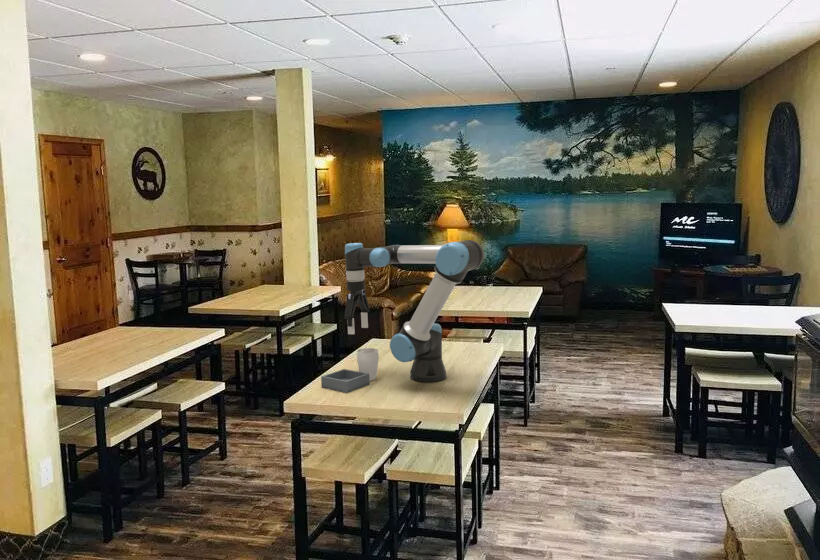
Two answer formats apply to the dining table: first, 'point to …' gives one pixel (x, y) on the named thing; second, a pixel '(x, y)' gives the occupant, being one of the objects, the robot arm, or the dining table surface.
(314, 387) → the dining table surface
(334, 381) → the bin
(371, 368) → the cup
